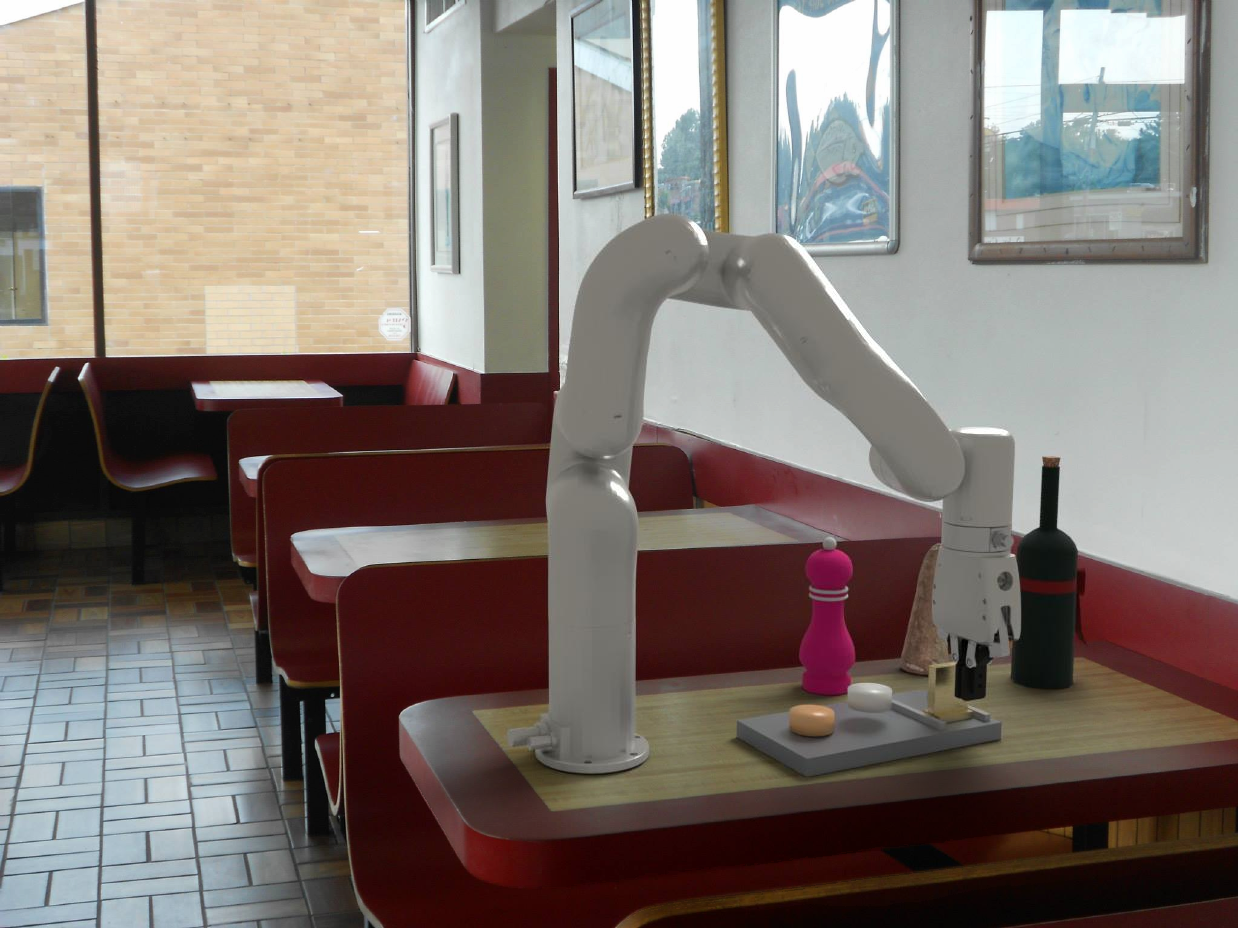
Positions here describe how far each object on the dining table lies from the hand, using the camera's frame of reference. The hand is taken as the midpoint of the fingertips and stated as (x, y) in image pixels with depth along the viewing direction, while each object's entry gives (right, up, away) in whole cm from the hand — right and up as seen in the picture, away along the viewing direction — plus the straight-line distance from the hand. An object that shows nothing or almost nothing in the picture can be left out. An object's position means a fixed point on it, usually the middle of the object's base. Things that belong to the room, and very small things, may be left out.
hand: (970, 697), depth 143 cm
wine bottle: (+18, -3, +26) cm, 31 cm away
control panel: (-11, -5, +3) cm, 12 cm away
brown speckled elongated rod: (+2, -2, +30) cm, 30 cm away
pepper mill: (-13, -3, +22) cm, 25 cm away
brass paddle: (-2, -3, +4) cm, 5 cm away
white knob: (-11, -1, +2) cm, 11 cm away
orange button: (-18, -3, -1) cm, 18 cm away
